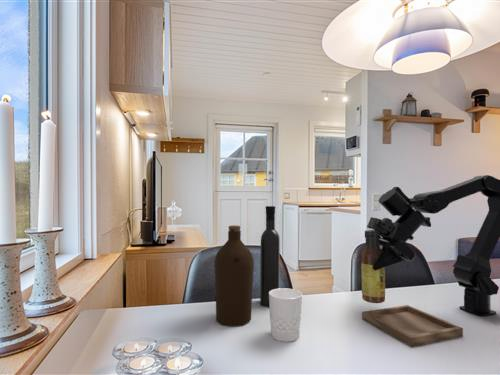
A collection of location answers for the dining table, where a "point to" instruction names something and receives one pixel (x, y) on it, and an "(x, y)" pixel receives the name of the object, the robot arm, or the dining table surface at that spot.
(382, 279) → the sauce bottle
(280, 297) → the white cup
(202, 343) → the dining table surface
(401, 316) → the walnut tray
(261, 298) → the wine bottle
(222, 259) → the olive oil
